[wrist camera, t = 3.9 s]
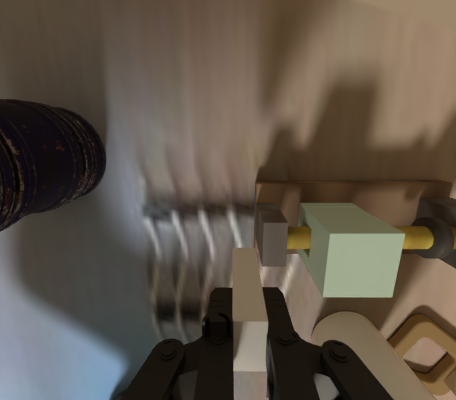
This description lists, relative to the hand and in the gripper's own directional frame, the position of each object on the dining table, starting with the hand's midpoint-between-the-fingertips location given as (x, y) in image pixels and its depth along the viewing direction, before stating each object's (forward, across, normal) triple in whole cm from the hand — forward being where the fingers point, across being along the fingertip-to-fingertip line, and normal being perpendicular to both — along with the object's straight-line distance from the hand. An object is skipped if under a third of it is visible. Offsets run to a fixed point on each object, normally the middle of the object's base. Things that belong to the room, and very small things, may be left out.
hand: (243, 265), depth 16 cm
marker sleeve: (+8, +8, 0) cm, 11 cm away
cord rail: (+11, +12, 0) cm, 16 cm away
